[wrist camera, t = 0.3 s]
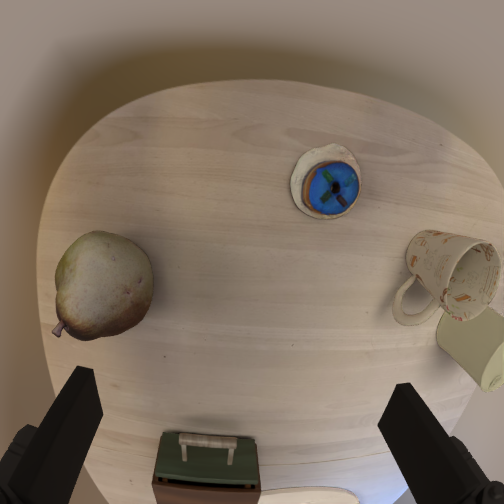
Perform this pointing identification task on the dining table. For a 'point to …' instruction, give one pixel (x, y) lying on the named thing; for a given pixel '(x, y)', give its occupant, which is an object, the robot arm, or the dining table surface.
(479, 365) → the can
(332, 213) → the dessert
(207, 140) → the dining table surface
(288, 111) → the dining table surface
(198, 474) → the drawer
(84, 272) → the fruit
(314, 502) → the lazy susan
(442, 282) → the mug
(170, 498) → the cabinet
